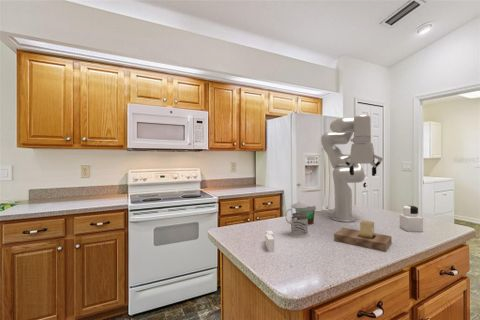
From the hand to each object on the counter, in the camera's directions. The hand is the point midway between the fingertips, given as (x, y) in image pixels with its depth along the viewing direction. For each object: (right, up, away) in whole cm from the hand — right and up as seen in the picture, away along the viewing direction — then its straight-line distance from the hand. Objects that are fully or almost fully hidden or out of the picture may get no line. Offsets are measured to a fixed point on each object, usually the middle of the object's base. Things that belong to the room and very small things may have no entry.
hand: (362, 175), depth 116 cm
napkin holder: (-47, -30, -15) cm, 58 cm away
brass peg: (-5, -28, -14) cm, 32 cm away
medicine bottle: (+26, -28, +4) cm, 39 cm away
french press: (-32, -29, 0) cm, 43 cm away
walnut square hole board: (-7, -28, -12) cm, 32 cm away
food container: (-23, -29, +18) cm, 41 cm away
